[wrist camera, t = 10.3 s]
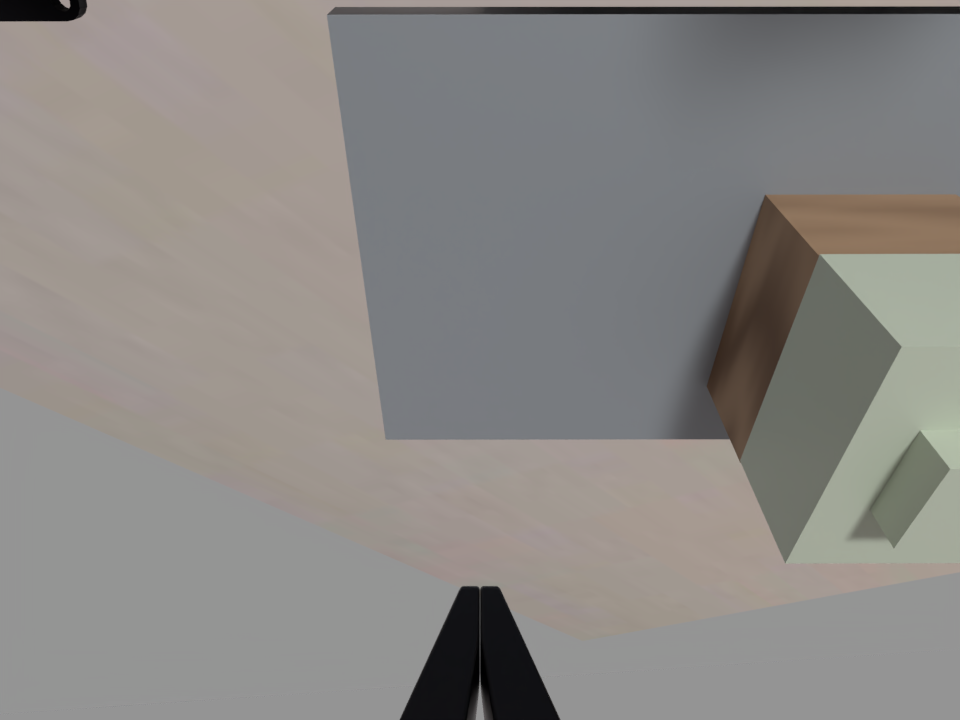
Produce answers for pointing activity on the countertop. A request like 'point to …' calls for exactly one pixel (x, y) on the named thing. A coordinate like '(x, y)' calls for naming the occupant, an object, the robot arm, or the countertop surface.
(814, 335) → the upper brick
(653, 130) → the base plate
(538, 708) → the robot arm
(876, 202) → the lower brick
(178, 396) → the countertop surface
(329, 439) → the countertop surface
